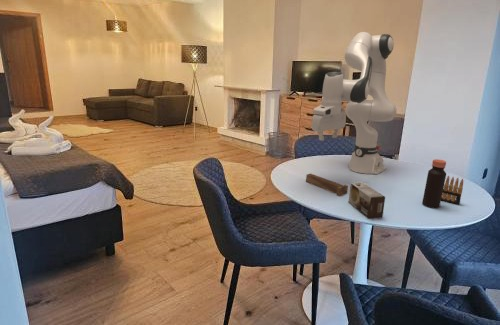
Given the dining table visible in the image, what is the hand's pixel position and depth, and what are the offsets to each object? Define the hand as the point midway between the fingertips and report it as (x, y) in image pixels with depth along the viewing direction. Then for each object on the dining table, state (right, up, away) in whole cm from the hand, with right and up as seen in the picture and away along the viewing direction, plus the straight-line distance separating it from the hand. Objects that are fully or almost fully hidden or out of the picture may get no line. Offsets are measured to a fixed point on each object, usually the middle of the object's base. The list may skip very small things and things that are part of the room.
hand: (328, 139), depth 156 cm
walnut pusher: (-1, -23, +7) cm, 24 cm away
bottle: (+42, -30, -10) cm, 52 cm away
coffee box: (+10, -24, -10) cm, 27 cm away
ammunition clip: (+51, -28, -6) cm, 59 cm away
